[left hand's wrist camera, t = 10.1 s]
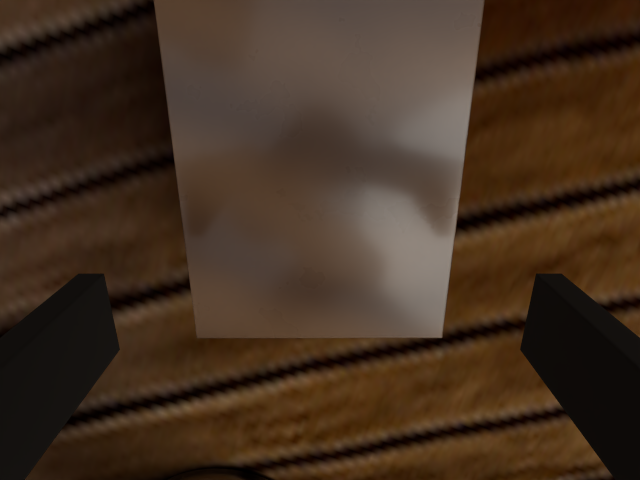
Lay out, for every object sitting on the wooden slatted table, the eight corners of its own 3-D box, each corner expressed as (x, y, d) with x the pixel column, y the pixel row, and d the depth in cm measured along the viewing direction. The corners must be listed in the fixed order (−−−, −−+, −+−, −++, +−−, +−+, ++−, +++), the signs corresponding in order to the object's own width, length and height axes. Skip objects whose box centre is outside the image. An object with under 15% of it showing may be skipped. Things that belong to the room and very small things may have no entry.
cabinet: (204, -95, 21) (126, -212, 12) (434, -96, 21) (511, -212, 12) (233, 259, 28) (196, 338, 19) (405, 259, 28) (442, 338, 19)
